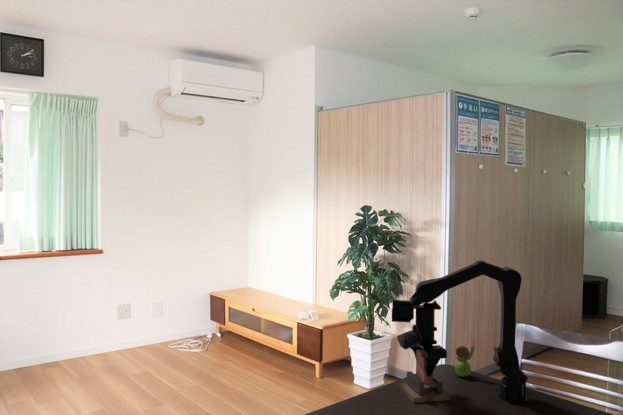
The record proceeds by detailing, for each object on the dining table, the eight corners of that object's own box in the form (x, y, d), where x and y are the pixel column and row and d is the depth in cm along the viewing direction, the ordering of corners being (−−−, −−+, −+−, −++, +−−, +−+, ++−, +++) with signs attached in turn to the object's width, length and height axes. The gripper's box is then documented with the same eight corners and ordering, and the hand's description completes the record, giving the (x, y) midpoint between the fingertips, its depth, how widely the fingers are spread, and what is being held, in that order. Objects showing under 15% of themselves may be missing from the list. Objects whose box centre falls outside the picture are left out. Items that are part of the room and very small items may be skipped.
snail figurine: (473, 380, 173) (474, 344, 173) (453, 377, 175) (454, 342, 175) (474, 375, 178) (475, 340, 178) (455, 372, 180) (455, 338, 180)
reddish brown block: (424, 377, 164) (425, 349, 164) (433, 384, 158) (433, 354, 158) (415, 377, 163) (416, 349, 163) (423, 384, 157) (424, 355, 157)
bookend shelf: (433, 385, 168) (433, 368, 168) (450, 399, 156) (451, 381, 156) (398, 388, 165) (398, 371, 165) (413, 402, 154) (413, 384, 154)
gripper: (389, 317, 168) (389, 364, 168) (412, 331, 149) (411, 385, 150) (421, 315, 170) (421, 362, 170) (448, 330, 152) (447, 382, 152)
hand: (424, 372), depth 161 cm, fingers closed on reddish brown block, 6 cm apart
